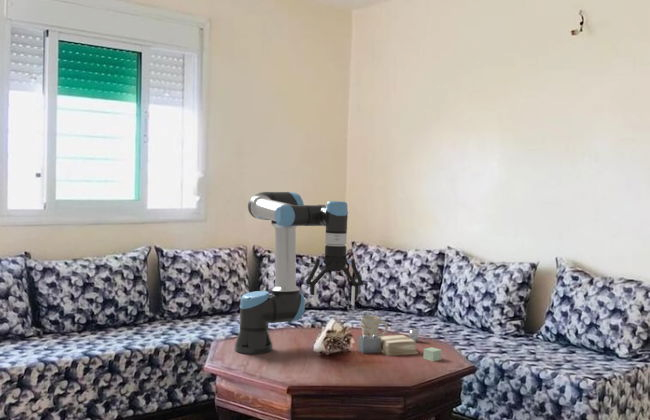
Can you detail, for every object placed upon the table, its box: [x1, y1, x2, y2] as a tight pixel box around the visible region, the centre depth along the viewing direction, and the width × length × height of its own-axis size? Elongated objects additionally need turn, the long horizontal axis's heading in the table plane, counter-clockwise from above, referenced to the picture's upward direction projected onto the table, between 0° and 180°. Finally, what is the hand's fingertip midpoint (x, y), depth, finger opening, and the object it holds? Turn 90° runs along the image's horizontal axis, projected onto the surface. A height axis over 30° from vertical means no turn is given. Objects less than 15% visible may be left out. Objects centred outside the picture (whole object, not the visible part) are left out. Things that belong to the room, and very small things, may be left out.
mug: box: [360, 315, 389, 336], centre depth 294 cm, size 8×13×10 cm, turn 107°
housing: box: [357, 334, 382, 354], centre depth 273 cm, size 5×8×7 cm, turn 109°
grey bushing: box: [408, 328, 420, 343], centre depth 292 cm, size 4×4×5 cm
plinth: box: [379, 334, 419, 357], centre depth 275 cm, size 14×14×5 cm
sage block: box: [423, 347, 442, 362], centre depth 264 cm, size 5×5×4 cm
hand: (333, 304), depth 234 cm, fingers open, 13 cm apart
